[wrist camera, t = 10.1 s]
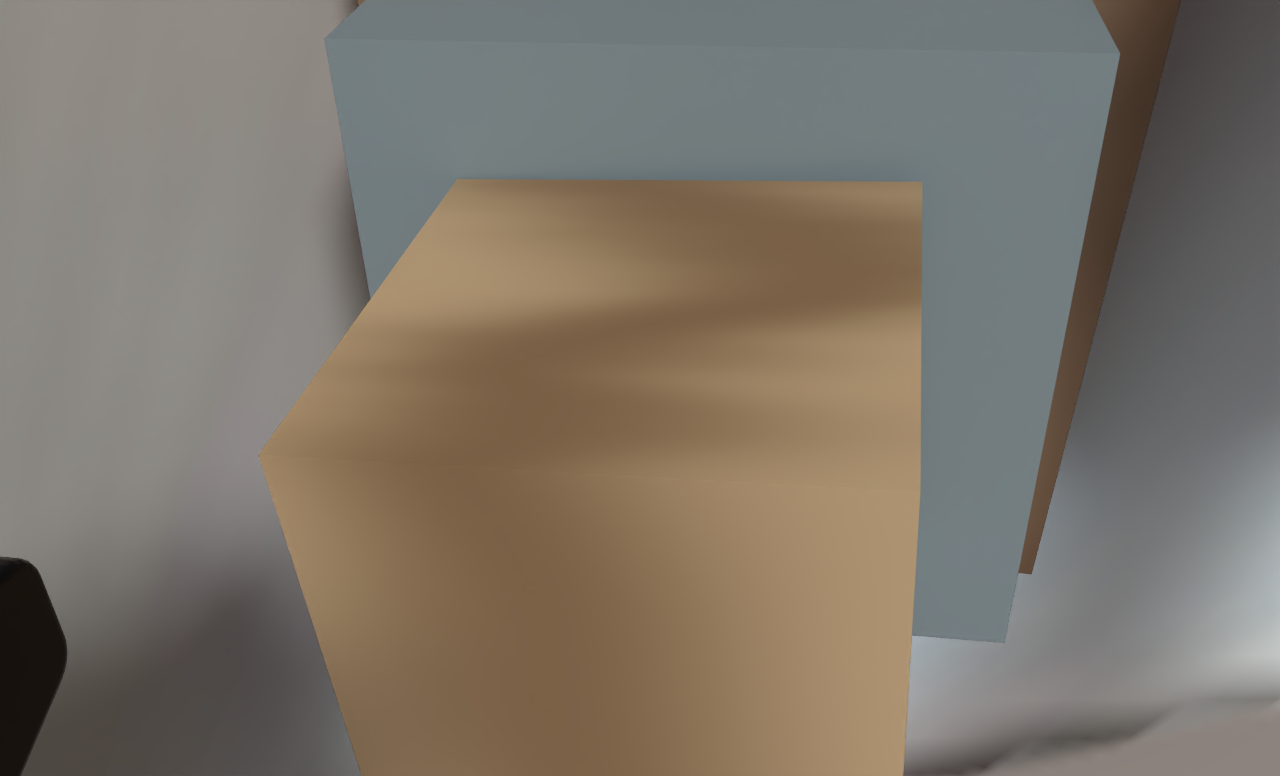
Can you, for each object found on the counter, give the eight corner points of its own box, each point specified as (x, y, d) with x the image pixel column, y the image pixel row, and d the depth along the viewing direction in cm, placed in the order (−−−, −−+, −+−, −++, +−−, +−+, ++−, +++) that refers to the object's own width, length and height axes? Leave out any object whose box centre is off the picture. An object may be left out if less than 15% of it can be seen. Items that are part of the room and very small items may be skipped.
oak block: (922, 182, 12) (920, 490, 8) (903, 549, 15) (895, 915, 11) (457, 179, 13) (258, 453, 9) (519, 524, 16) (385, 850, 12)
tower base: (1150, -140, 16) (1202, -84, 14) (1011, 459, 22) (1031, 574, 19) (415, -169, 17) (342, -122, 15) (465, 408, 23) (419, 510, 21)
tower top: (1074, -35, 14) (1120, 52, 12) (984, 499, 19) (1004, 643, 16) (408, -41, 15) (323, 38, 13) (476, 465, 20) (423, 596, 17)
